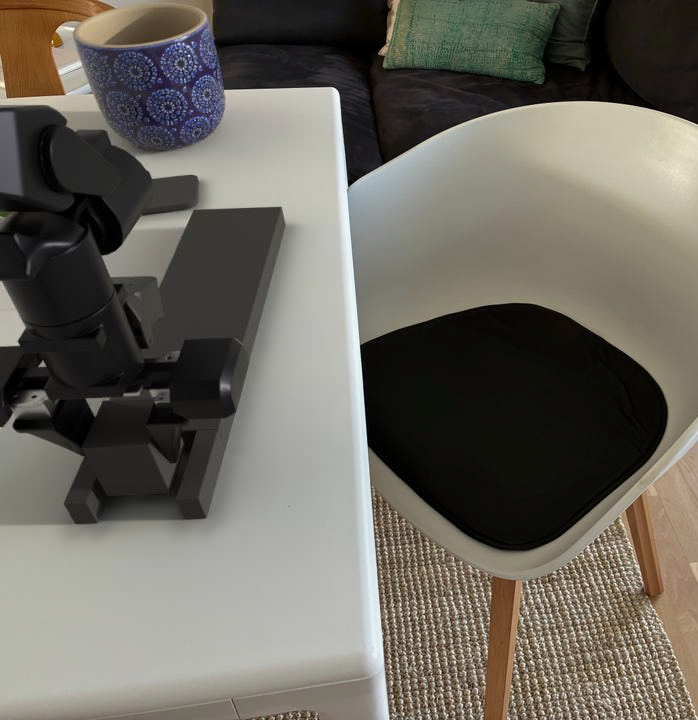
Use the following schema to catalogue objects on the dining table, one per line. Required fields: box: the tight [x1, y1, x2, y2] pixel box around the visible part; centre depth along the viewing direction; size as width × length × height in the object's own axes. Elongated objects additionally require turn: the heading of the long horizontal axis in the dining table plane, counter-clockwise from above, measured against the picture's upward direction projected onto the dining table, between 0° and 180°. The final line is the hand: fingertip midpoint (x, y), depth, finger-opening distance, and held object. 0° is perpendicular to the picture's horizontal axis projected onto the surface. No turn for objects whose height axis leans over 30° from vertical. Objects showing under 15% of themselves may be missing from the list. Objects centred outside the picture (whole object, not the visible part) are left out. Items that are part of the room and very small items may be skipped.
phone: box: [142, 174, 200, 215], centre depth 94 cm, size 7×1×15 cm
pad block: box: [82, 399, 185, 497], centre depth 59 cm, size 5×5×6 cm
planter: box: [72, 2, 226, 151], centre depth 103 cm, size 17×17×15 cm
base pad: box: [63, 206, 287, 525], centre depth 74 cm, size 42×10×2 cm, turn 2°
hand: (142, 460), depth 60 cm, fingers closed on pad block, 5 cm apart
